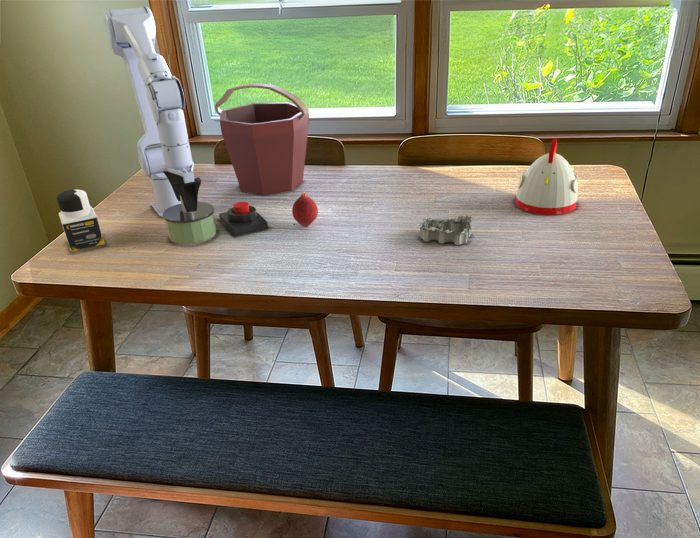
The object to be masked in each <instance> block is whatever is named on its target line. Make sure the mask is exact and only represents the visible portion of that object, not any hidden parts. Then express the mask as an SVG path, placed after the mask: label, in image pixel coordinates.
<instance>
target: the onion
mask: <svg viewBox="0 0 700 538" xmlns="http://www.w3.org/2000/svg"><path fill="white" fill-rule="evenodd" d="M291 210H292V211H291V213H292V217H293V219H294V220H295V222H297V223H298V224H299V225H301V226H303V227H305V228H306V227H309V226H310V225H311V224H312V223H314V222H315V221H316V219H317V217H318V216H319V207H318V205H317V203H316V201H315V200H314V199H313V198H311V197H310V196H308V193H307V192H306V191H302V193H301V194H300V196H299V197H298V198H297V199H296V200H295V201H294V202H293V205H292V208H291Z"/></svg>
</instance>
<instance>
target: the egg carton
mask: <svg viewBox="0 0 700 538" xmlns="http://www.w3.org/2000/svg"><path fill="white" fill-rule="evenodd" d="M472 221H473V217H472V216H468V215H465V216H464V215H461V216H457V218H454V217H450V218H443V217H441V218H436V219H435V218H431V217H425V218H423V220H422V221H420V224H418V226H419V238H420V239H422V240H423V242H426V243H427V242H430V241H437V242H438V244H445V243H454V245H455V246H460V245H463V244H467V243H468V238H470V236H471V231H472V226H471V223H472Z"/></svg>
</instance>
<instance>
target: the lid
mask: <svg viewBox="0 0 700 538" xmlns="http://www.w3.org/2000/svg"><path fill="white" fill-rule="evenodd" d="M180 200H181V204H177V205H174V206H172V207H169V208H168V209H166V210H165V211H164V212H163V216H162V218H163V220H164V221H165V220H166V221H169V222H173V223H190V222H196V221H200V220H203V219H205V218H208V217H209V216H211V215H212V214H215V207H214V205H212V204H211V203H209V202H204V201H198V203H197V211H193V212H189V213H188V212H187V211H186V209H185V206H184V204H183V201H182V198H181V195H180Z"/></svg>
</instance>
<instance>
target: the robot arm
mask: <svg viewBox="0 0 700 538" xmlns="http://www.w3.org/2000/svg"><path fill="white" fill-rule="evenodd" d="M102 18H103V23H104V28H105V32H106V35H107V38H108V43H109V46H110V48H111V49H110V50H112V53H113V54H114V55H116V56H118V57H121V59H122V61H123V62H124V65H125V66H126V68H127V71H128V72H127V73H128V76H129V80H130V83H131V87H132V91H133V95H134V99H135V103H136V106H137V109H138V112H139V117H140V120H141V124H142V127H143V132H144V134H143V135H142V136H141V137H140V139H139V140H138V141H137V142H136V151H137V157H138V162H139V166H140V169H141V172H142V173H143V175H144V176H145V177H149V179H150V180H149V181H150V186H151V191H152V196H153V199H154V203H151V207H152V208H153V210H154V211H155V212H156V213H157V214H158V216H160V217H163V212H164V211H165V210H166V209H168V208H169V207H172V206H174V205H177V204H181V200H180V195H181V198H182V201H183V204H184V206H185V209H186V211H187V212H188V213H189V212H193V211H197V203H198V202H199V201H198V198H199V190H200V187H201V184H202V179H201V178H200V177H195V175H194V168H195V163H194V161H193V157H192V151H191V146H190V140H189V135H188V130H187V129H188V128H187V123H186V118H185V114H184V110H185V108H186V100H185V93H184V90H183V87H182V83H181V81H180V79H179V78H178V77H176V75H172V73H171V71H170V69H169V67H168V65H167V62H166V60H165V58H164V57H163V55H161V54H159V53H158V52H156V49H155V44H156V35H157V28H156V22H155V17H154V15H153V11H152V10H151V8H150V7H148V6H147V5H145V6H142V7H130V8H119V9H104V12H103V13H102ZM152 146H154V147H152ZM147 147H148V148H147Z"/></svg>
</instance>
